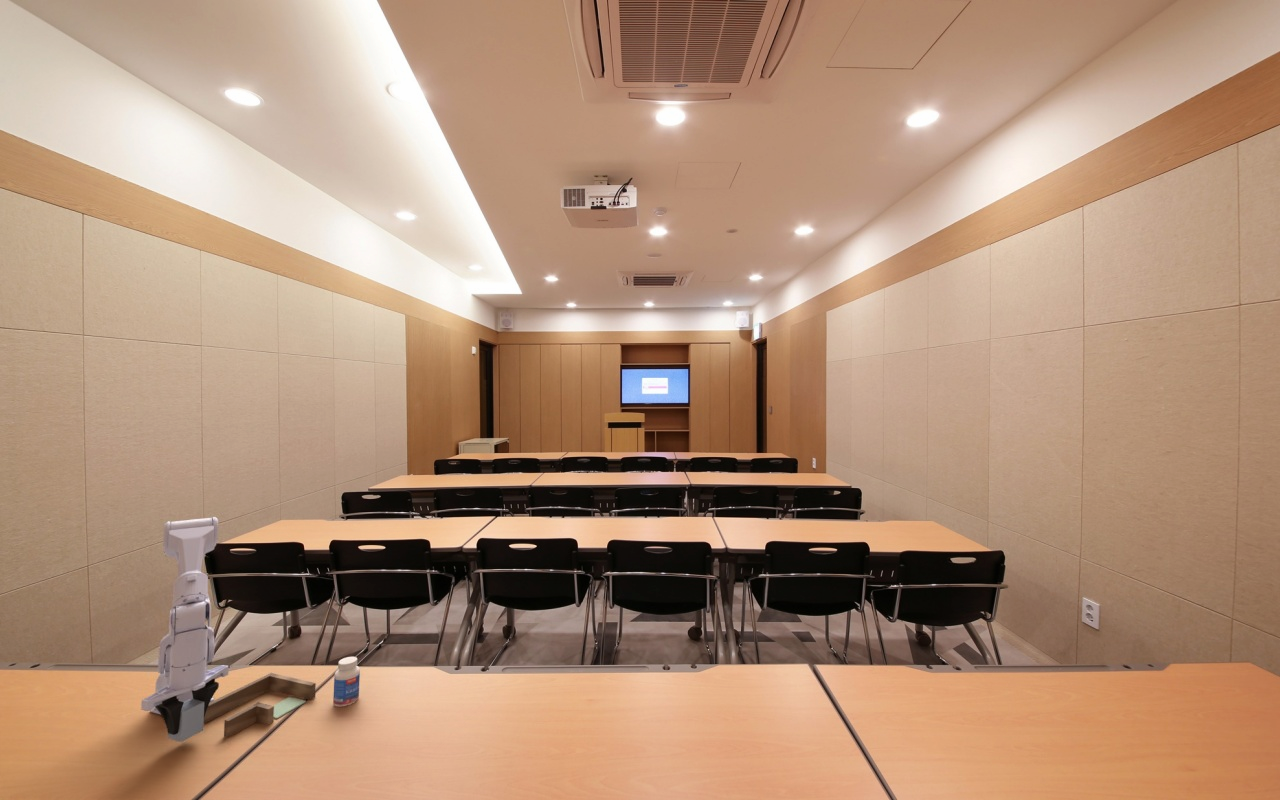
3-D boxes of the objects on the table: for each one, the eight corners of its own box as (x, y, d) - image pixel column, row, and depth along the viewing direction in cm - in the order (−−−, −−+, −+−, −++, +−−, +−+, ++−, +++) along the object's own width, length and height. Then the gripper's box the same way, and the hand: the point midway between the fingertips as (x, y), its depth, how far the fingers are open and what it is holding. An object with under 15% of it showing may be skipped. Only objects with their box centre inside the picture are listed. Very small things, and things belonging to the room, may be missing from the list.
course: (192, 726, 110) (192, 710, 110) (270, 686, 126) (270, 672, 126) (240, 741, 105) (240, 724, 105) (315, 697, 121) (315, 683, 121)
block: (168, 738, 102) (169, 708, 103) (190, 726, 106) (191, 698, 106) (180, 742, 101) (182, 712, 101) (203, 730, 105) (204, 701, 105)
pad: (259, 714, 114) (259, 713, 114) (289, 698, 121) (289, 696, 121) (277, 719, 113) (277, 717, 113) (305, 702, 119) (306, 700, 119)
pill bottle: (347, 709, 117) (348, 667, 117) (327, 706, 118) (329, 664, 118) (364, 696, 122) (365, 656, 122) (345, 693, 123) (346, 654, 124)
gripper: (158, 681, 96) (155, 752, 96) (238, 648, 110) (236, 710, 109) (135, 675, 98) (132, 745, 98) (217, 643, 112) (214, 704, 112)
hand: (186, 726), depth 104 cm, fingers closed on block, 4 cm apart
